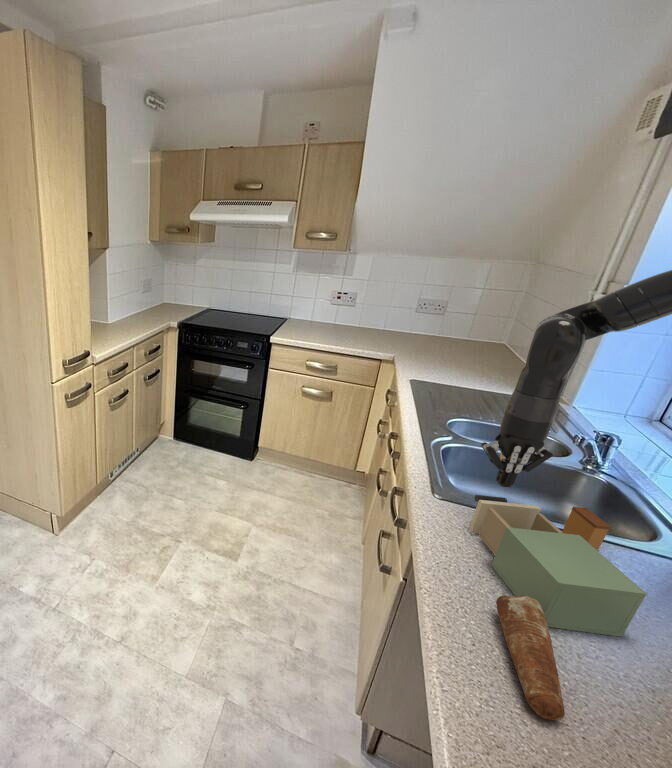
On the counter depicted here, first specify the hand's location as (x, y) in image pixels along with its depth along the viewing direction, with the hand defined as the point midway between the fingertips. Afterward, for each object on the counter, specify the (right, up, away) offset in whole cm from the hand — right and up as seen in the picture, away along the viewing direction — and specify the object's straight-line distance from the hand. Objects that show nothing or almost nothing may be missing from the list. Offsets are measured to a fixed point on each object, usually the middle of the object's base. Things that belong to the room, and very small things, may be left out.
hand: (503, 484), depth 90 cm
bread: (-18, -22, -26) cm, 39 cm away
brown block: (+14, -13, -2) cm, 19 cm away
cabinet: (-3, -17, -14) cm, 23 cm away
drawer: (-1, -12, -2) cm, 12 cm away
